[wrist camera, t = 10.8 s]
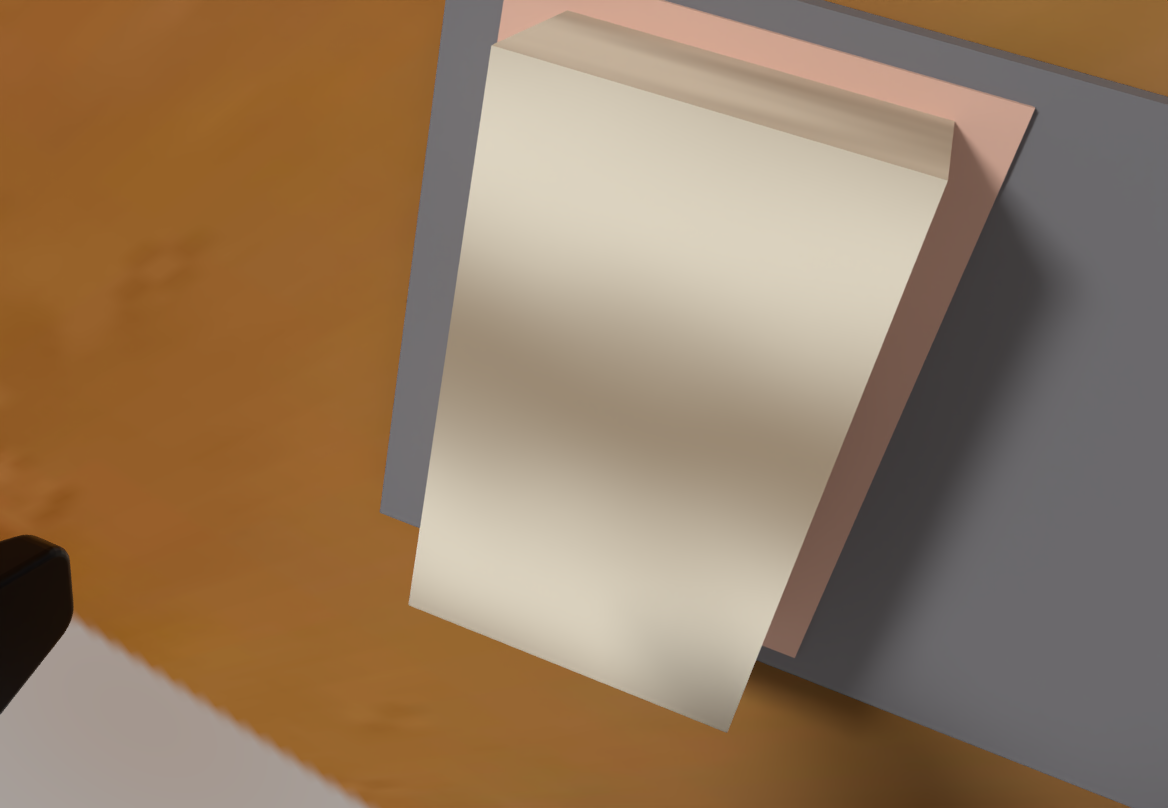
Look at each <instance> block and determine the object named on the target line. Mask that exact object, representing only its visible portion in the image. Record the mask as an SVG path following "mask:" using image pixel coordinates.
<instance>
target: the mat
mask: <svg viewBox="0 0 1168 808" xmlns="http://www.w3.org/2000/svg"><path fill="white" fill-rule="evenodd" d="M567 10H568V11H572V12H575V13H579V14H582V15H586V16H589V17H593V18H596V19H600V20H603V21H607V22H610V23H614V24H617V25H621V26H624V27H628V28H631V29H635V30H638V31H641V32H645V33H648V34H652V35H655V36H659V37H662V38H666V39H669V40H673V41H676V42H680V43H683V44H687V45H690V46H694V47H697V48H701V49H704V50H708V51H711V52H715V53H718V54H722V55H725V56H729V57H732V58H736V59H739V60H743V61H746V62H750V63H753V64H757V65H760V66H764V67H767V68H771V69H774V70H778V71H781V72H785V73H788V74H792V75H795V76H799V77H802V78H806V79H809V80H813V81H816V82H820V83H823V84H827V85H830V86H834V87H837V88H840V89H844V90H847V91H851V92H854V93H858V94H861V95H865V96H868V97H872V98H875V99H879V100H882V101H886V102H889V103H893V104H896V105H900V106H903V107H907V108H910V109H914V110H917V111H921V112H924V113H928V114H931V115H935V116H938V117H942V118H945V119H949V120H952V121H955V123H954V132H953V141H952V149H951V158H950V167H949V175H948V182H947V184H946V187H945V189H944V192H943V194H942V197H941V199H940V202H939V204H938V207H937V209H936V212H935V214H934V217H933V219H932V222H931V224H930V227H929V229H928V232H927V234H926V237H925V239H924V242H923V244H922V247H921V249H920V252H919V254H918V257H917V259H916V262H915V264H914V267H913V269H912V272H911V274H910V277H909V279H908V282H907V284H906V287H905V289H904V292H903V294H902V297H901V299H900V302H899V304H898V307H897V309H896V312H895V314H894V317H893V319H892V322H891V324H890V327H889V329H888V332H887V334H886V337H885V339H884V342H883V344H882V347H881V349H880V352H879V354H878V357H877V359H876V362H875V364H874V367H873V369H872V372H871V374H870V377H869V379H868V382H867V384H866V387H865V389H864V392H863V394H862V397H861V399H860V402H859V404H858V407H857V409H856V412H855V414H854V417H853V419H852V422H851V424H850V427H849V429H848V432H847V434H846V437H845V439H844V442H843V444H842V447H841V449H840V452H839V454H838V457H837V459H836V462H835V464H834V467H833V469H832V472H831V474H830V477H829V479H828V482H827V484H826V487H825V489H824V492H823V494H822V497H821V499H820V502H819V504H818V507H817V509H816V512H815V514H814V517H813V519H812V522H811V524H810V527H809V529H808V532H807V534H806V537H805V539H804V542H803V544H802V547H801V549H800V552H799V554H798V557H797V559H796V562H795V564H794V566H793V569H792V571H791V574H790V576H789V579H788V581H787V584H786V586H785V589H784V591H783V594H782V596H781V599H780V601H779V604H778V606H777V609H776V611H775V614H774V616H773V619H772V621H771V624H770V626H769V629H768V631H767V634H766V636H765V639H764V641H763V644H762V646H761V649H760V651H759V654H758V656H757V659H756V660H757V661H760V662H762V663H765V664H767V665H770V666H772V667H775V668H777V669H780V670H783V671H785V672H788V673H790V674H793V675H795V676H798V677H800V678H803V679H806V680H808V681H811V682H813V683H816V684H818V685H821V686H823V687H826V688H828V689H831V690H834V691H836V692H839V693H841V694H844V695H846V696H849V697H851V698H854V699H856V700H859V701H862V702H864V703H867V704H869V705H872V706H874V707H877V708H879V709H882V710H885V711H887V712H890V713H892V714H895V715H897V716H900V717H902V718H905V719H907V720H910V721H913V722H915V723H918V724H920V725H923V726H925V727H928V728H930V729H933V730H935V731H938V732H941V733H943V734H946V735H948V736H951V737H953V738H956V739H958V740H961V741H964V742H966V743H969V744H971V745H974V746H976V747H979V748H981V749H984V750H986V751H989V752H992V753H994V754H997V755H999V756H1002V757H1004V758H1007V759H1009V760H1012V761H1014V762H1017V763H1020V764H1022V765H1025V766H1027V767H1030V768H1032V769H1035V770H1037V771H1040V772H1042V773H1045V774H1048V775H1050V776H1053V777H1055V778H1058V779H1060V780H1063V781H1065V782H1068V783H1071V784H1073V785H1076V786H1078V787H1081V788H1083V789H1086V790H1088V791H1091V792H1093V793H1096V794H1099V795H1101V796H1104V797H1106V798H1109V799H1111V800H1114V801H1116V802H1119V803H1121V804H1124V805H1127V806H1129V807H1132V808H1168V97H1167V96H1163V95H1159V94H1156V93H1152V92H1149V91H1145V90H1142V89H1138V88H1134V87H1131V86H1127V85H1124V84H1120V83H1117V82H1113V81H1109V80H1106V79H1102V78H1099V77H1095V76H1092V75H1088V74H1084V73H1081V72H1077V71H1074V70H1070V69H1067V68H1063V67H1060V66H1056V65H1052V64H1049V63H1045V62H1042V61H1038V60H1035V59H1031V58H1027V57H1024V56H1020V55H1017V54H1013V53H1010V52H1006V51H1002V50H999V49H995V48H992V47H988V46H985V45H981V44H977V43H974V42H970V41H967V40H963V39H960V38H956V37H952V36H949V35H945V34H942V33H938V32H935V31H931V30H927V29H924V28H920V27H917V26H913V25H910V24H906V23H902V22H899V21H895V20H892V19H888V18H885V17H881V16H877V15H874V14H870V13H867V12H863V11H860V10H856V9H852V8H849V7H845V6H842V5H838V4H835V3H831V2H827V1H824V0H446V3H445V10H444V18H443V26H442V34H441V41H440V49H439V57H438V65H437V72H436V80H435V88H434V96H433V104H432V111H431V119H430V127H429V135H428V142H427V150H426V158H425V166H424V173H423V181H422V189H421V197H420V205H419V212H418V220H417V228H416V236H415V243H414V251H413V259H412V267H411V274H410V282H409V290H408V298H407V306H406V313H405V321H404V329H403V337H402V344H401V352H400V360H399V368H398V375H397V383H396V391H395V399H394V407H393V414H392V422H391V430H390V438H389V445H388V453H387V461H386V469H385V477H384V484H383V492H382V500H381V508H380V513H383V514H385V515H388V516H390V517H393V518H395V519H398V520H400V521H403V522H405V523H408V524H411V525H413V526H416V527H418V528H420V525H421V518H422V511H423V504H424V498H425V491H426V484H427V477H428V471H429V464H430V457H431V450H432V443H433V437H434V430H435V423H436V416H437V410H438V403H439V396H440V389H441V383H442V376H443V369H444V362H445V356H446V349H447V342H448V335H449V329H450V322H451V315H452V308H453V301H454V295H455V288H456V281H457V274H458V268H459V261H460V254H461V247H462V241H463V234H464V227H465V220H466V214H467V207H468V200H469V193H470V187H471V180H472V173H473V166H474V160H475V153H476V146H477V139H478V132H479V126H480V119H481V112H482V105H483V99H484V92H485V85H486V78H487V72H488V65H489V58H490V51H491V45H493V44H495V43H497V42H500V41H502V40H504V39H506V38H508V37H510V36H513V35H515V34H517V33H519V32H521V31H523V30H526V29H528V28H530V27H532V26H534V25H537V24H539V23H541V22H543V21H545V20H547V19H550V18H552V17H554V16H556V15H558V14H560V13H563V12H565V11H567Z"/></svg>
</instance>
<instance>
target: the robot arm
mask: <svg viewBox="0 0 1168 808" xmlns="http://www.w3.org/2000/svg"><path fill="white" fill-rule="evenodd" d="M72 614H73V593H72V581H71V569H70V559H69V555H68V554H67V552H66V551H65V549H63V548H62V547H60V546H58V545H55V544H53V543H51V542H48V541H46V540H44V539H41V538H39V537H37V536H33V535H21V536H16V537H13V538H10V539H6V540H3V541H0V714H1V713H2V712H3V711H4V709H5V708H6V707H7V705H8V704H9V703H10V702H11V700H12V699H13V697H15V695H16V694H17V693H18V691H19V690H20V689H21V688H22V686H23V685H24V684H25V683H26V681H27V680H28V678H29V677H30V676H31V675H32V674H33V672H34V671H35V670H36V669H37V667H38V666H39V665H40V664H41V662H42V661H43V660H44V658H45V657H46V656H47V655H48V653H49V652H50V651H51V649H52V648H53V647H54V646H55V644H56V643H57V642H58V641H59V639H60V638H61V637H62V635H63V634H64V633H65V631H66V629H67V627H68V626H69V624H70V621H71V618H72Z"/></svg>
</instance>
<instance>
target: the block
mask: <svg viewBox="0 0 1168 808" xmlns="http://www.w3.org/2000/svg"><path fill="white" fill-rule="evenodd" d="M954 123H955V121H952V120H949V119H945V118H942V117H938V116H935V115H931V114H928V113H924V112H921V111H917V110H914V109H910V108H907V107H903V106H900V105H896V104H893V103H889V102H886V101H882V100H879V99H875V98H872V97H868V96H865V95H861V94H858V93H854V92H851V91H847V90H844V89H840V88H837V87H834V86H830V85H827V84H823V83H820V82H816V81H813V80H809V79H806V78H802V77H799V76H795V75H792V74H788V73H785V72H781V71H778V70H774V69H771V68H767V67H764V66H760V65H757V64H753V63H750V62H746V61H743V60H739V59H736V58H732V57H729V56H725V55H722V54H718V53H715V52H711V51H708V50H704V49H701V48H697V47H694V46H690V45H687V44H683V43H680V42H676V41H673V40H669V39H666V38H662V37H659V36H655V35H652V34H648V33H645V32H641V31H638V30H635V29H631V28H628V27H624V26H621V25H617V24H614V23H610V22H607V21H603V20H600V19H596V18H593V17H589V16H586V15H582V14H579V13H575V12H572V11H568V10H567V11H565V12H563V13H560V14H558V15H556V16H554V17H552V18H550V19H547V20H545V21H543V22H541V23H539V24H537V25H534V26H532V27H530V28H528V29H526V30H523V31H521V32H519V33H517V34H515V35H513V36H510V37H508V38H506V39H504V40H502V41H500V42H497V43H495V44H493V45H491V51H490V58H489V65H488V72H487V78H486V85H485V92H484V99H483V105H482V112H481V119H480V126H479V132H478V139H477V146H476V153H475V160H474V166H473V173H472V180H471V187H470V193H469V200H468V207H467V214H466V220H465V227H464V234H463V241H462V247H461V254H460V261H459V268H458V274H457V281H456V288H455V295H454V301H453V308H452V315H451V322H450V329H449V335H448V342H447V349H446V356H445V362H444V369H443V376H442V383H441V389H440V396H439V403H438V410H437V416H436V423H435V430H434V437H433V443H432V450H431V457H430V464H429V471H428V477H427V484H426V491H425V498H424V504H423V511H422V518H421V525H420V531H419V538H418V545H417V552H416V558H415V565H414V572H413V579H412V585H411V592H410V599H409V605H410V606H412V607H415V608H417V609H420V610H422V611H425V612H427V613H430V614H432V615H435V616H437V617H440V618H442V619H445V620H447V621H450V622H452V623H455V624H457V625H460V626H462V627H465V628H467V629H470V630H472V631H475V632H477V633H480V634H482V635H485V636H487V637H490V638H492V639H495V640H497V641H500V642H502V643H505V644H507V645H510V646H512V647H515V648H517V649H520V650H522V651H525V652H527V653H530V654H532V655H535V656H537V657H539V658H542V659H544V660H547V661H549V662H552V663H554V664H557V665H559V666H562V667H564V668H567V669H569V670H572V671H574V672H577V673H579V674H582V675H584V676H587V677H589V678H592V679H594V680H597V681H599V682H602V683H604V684H607V685H609V686H612V687H614V688H617V689H619V690H622V691H624V692H627V693H629V694H632V695H634V696H637V697H639V698H642V699H644V700H647V701H649V702H652V703H654V704H657V705H659V706H662V707H664V708H667V709H669V710H672V711H674V712H677V713H679V714H682V715H684V716H687V717H689V718H692V719H694V720H697V721H699V722H702V723H704V724H707V725H709V726H712V727H714V728H717V729H719V730H722V731H724V732H727V731H728V729H729V726H730V724H731V721H732V719H733V716H734V714H735V711H736V709H737V706H738V704H739V701H740V699H741V696H742V694H743V691H744V689H745V686H746V684H747V681H748V679H749V676H750V674H751V671H752V669H753V666H754V664H755V661H756V659H757V656H758V654H759V651H760V649H761V646H762V644H763V641H764V639H765V636H766V634H767V631H768V629H769V626H770V624H771V621H772V619H773V616H774V614H775V611H776V609H777V606H778V604H779V601H780V599H781V596H782V594H783V591H784V589H785V586H786V584H787V581H788V579H789V576H790V574H791V571H792V569H793V566H794V564H795V562H796V559H797V557H798V554H799V552H800V549H801V547H802V544H803V542H804V539H805V537H806V534H807V532H808V529H809V527H810V524H811V522H812V519H813V517H814V514H815V512H816V509H817V507H818V504H819V502H820V499H821V497H822V494H823V492H824V489H825V487H826V484H827V482H828V479H829V477H830V474H831V472H832V469H833V467H834V464H835V462H836V459H837V457H838V454H839V452H840V449H841V447H842V444H843V442H844V439H845V437H846V434H847V432H848V429H849V427H850V424H851V422H852V419H853V417H854V414H855V412H856V409H857V407H858V404H859V402H860V399H861V397H862V394H863V392H864V389H865V387H866V384H867V382H868V379H869V377H870V374H871V372H872V369H873V367H874V364H875V362H876V359H877V357H878V354H879V352H880V349H881V347H882V344H883V342H884V339H885V337H886V334H887V332H888V329H889V327H890V324H891V322H892V319H893V317H894V314H895V312H896V309H897V307H898V304H899V302H900V299H901V297H902V294H903V292H904V289H905V287H906V284H907V282H908V279H909V277H910V274H911V272H912V269H913V267H914V264H915V262H916V259H917V257H918V254H919V252H920V249H921V247H922V244H923V242H924V239H925V237H926V234H927V232H928V229H929V227H930V224H931V222H932V219H933V217H934V214H935V212H936V209H937V207H938V204H939V202H940V199H941V197H942V194H943V192H944V189H945V187H946V184H947V182H948V175H949V167H950V158H951V149H952V141H953V132H954Z"/></svg>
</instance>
